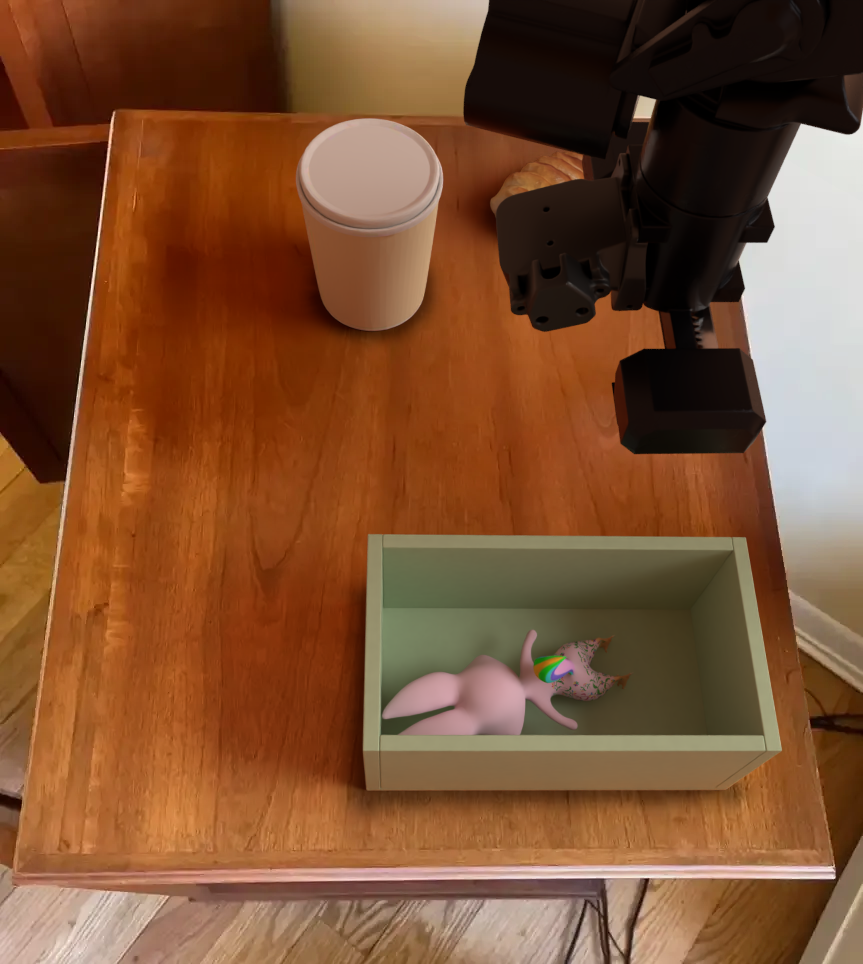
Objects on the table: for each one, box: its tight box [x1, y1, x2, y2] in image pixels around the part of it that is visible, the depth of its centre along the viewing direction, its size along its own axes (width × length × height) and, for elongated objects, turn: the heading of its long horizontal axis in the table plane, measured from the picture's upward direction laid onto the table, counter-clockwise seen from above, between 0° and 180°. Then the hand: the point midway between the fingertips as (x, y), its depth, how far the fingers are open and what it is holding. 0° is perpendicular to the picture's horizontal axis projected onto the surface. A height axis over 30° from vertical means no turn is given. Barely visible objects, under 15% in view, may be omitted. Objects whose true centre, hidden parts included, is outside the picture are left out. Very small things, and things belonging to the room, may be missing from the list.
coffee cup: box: [295, 118, 444, 332], centre depth 69 cm, size 9×9×12 cm
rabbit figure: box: [382, 630, 634, 735], centre depth 56 cm, size 6×6×15 cm
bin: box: [362, 533, 783, 791], centre depth 56 cm, size 21×12×10 cm, turn 90°
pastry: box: [489, 151, 584, 218], centre depth 77 cm, size 9×7×4 cm
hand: (630, 374), depth 57 cm, fingers open, 9 cm apart
